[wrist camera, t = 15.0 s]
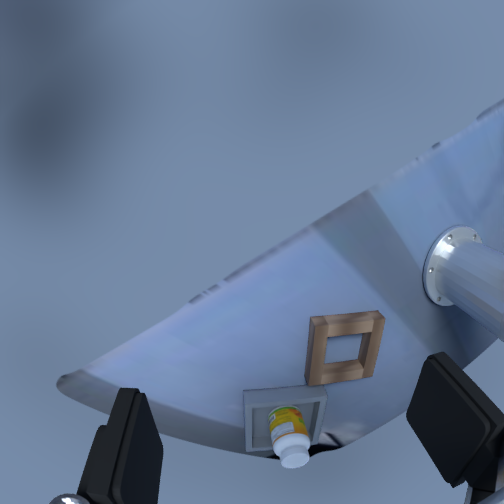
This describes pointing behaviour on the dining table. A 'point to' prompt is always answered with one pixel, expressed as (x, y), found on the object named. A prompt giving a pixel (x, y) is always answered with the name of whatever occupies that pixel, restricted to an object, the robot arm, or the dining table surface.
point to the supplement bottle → (289, 436)
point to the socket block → (338, 326)
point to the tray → (266, 400)
